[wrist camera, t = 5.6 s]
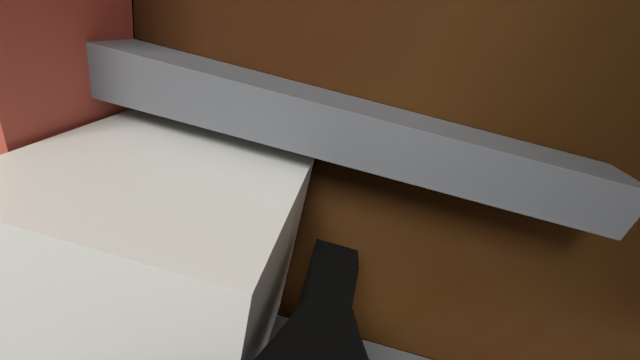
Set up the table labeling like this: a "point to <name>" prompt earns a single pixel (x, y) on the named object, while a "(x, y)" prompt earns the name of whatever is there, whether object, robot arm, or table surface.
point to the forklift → (281, 120)
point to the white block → (145, 242)
